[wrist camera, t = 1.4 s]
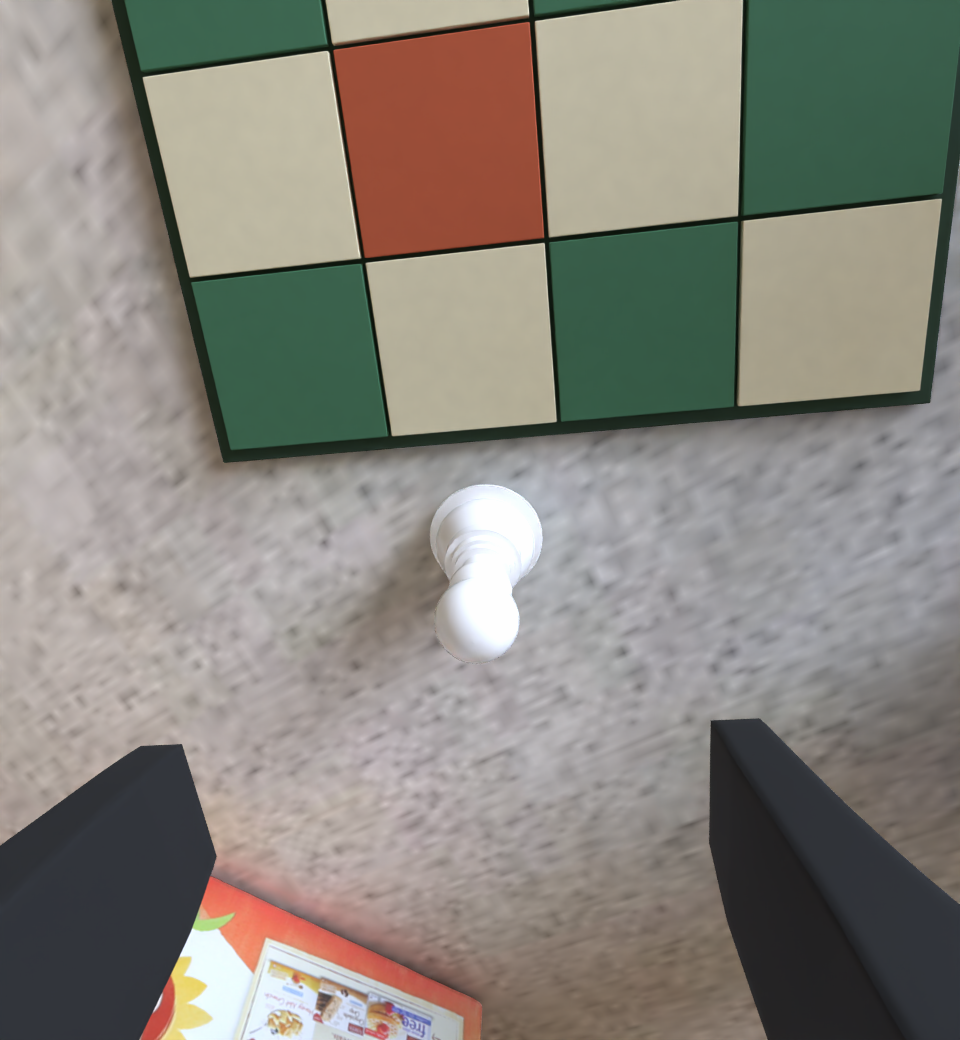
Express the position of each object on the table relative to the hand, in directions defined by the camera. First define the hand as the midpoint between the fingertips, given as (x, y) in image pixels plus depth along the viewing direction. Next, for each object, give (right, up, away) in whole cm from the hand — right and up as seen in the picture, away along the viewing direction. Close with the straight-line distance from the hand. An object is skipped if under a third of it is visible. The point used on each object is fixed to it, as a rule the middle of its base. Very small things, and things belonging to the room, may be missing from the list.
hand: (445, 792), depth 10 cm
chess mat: (+1, +14, +4) cm, 14 cm away
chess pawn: (+1, +3, +9) cm, 9 cm away
